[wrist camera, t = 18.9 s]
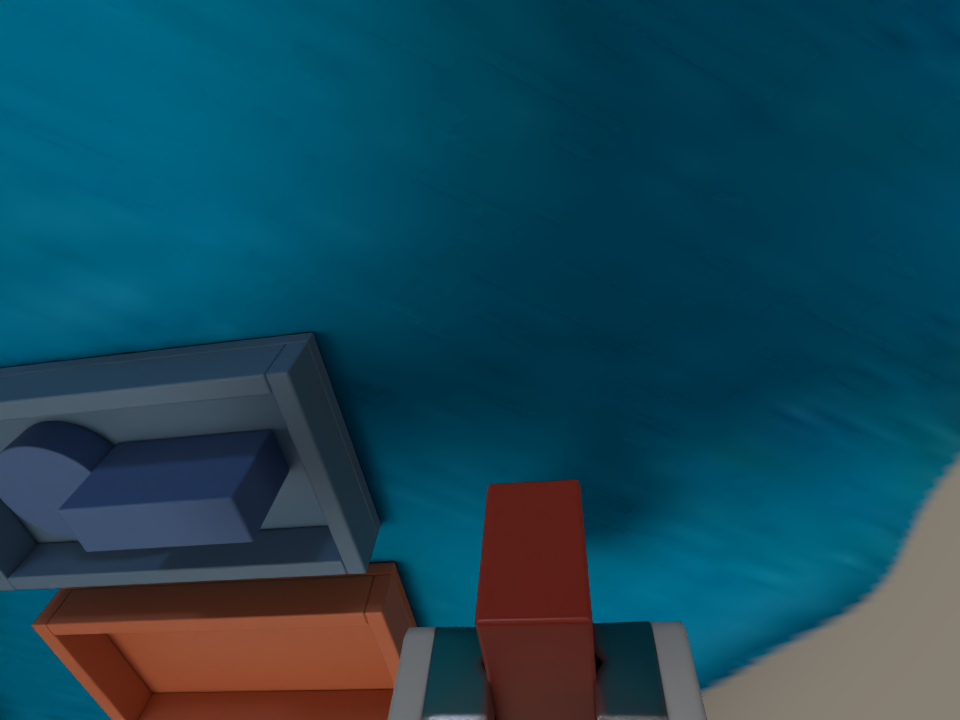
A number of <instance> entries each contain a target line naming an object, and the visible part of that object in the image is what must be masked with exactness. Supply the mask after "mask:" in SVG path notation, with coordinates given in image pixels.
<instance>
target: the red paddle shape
mask: <svg viewBox="0 0 960 720" xmlns="http://www.w3.org/2000/svg"><path fill="white" fill-rule="evenodd" d="M475 625H476V630H477V634H478V639H479V643H480V648H481V652H482V657H483V661H484V666H485V670H486V675H487V679H488V682H490V686H491V690H492V695H493V699H494V703H495V716H496V719H497V720H597V714H596V701H595V686H594V681H595V680H596V663H595V649H594V635H593V621H592V610H591V599H590V587H589V576H588V565H587V554H586V543H585V532H584V521H583V510H582V498H581V487H580V483H579V481H578V480H557V481H538V482H519V483H500V484H490V485H489V486H488V488H487V498H486V509H485V519H484V530H483V540H482V551H481V562H480V572H479V583H478V593H477V604H476V614H475Z"/></svg>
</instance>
